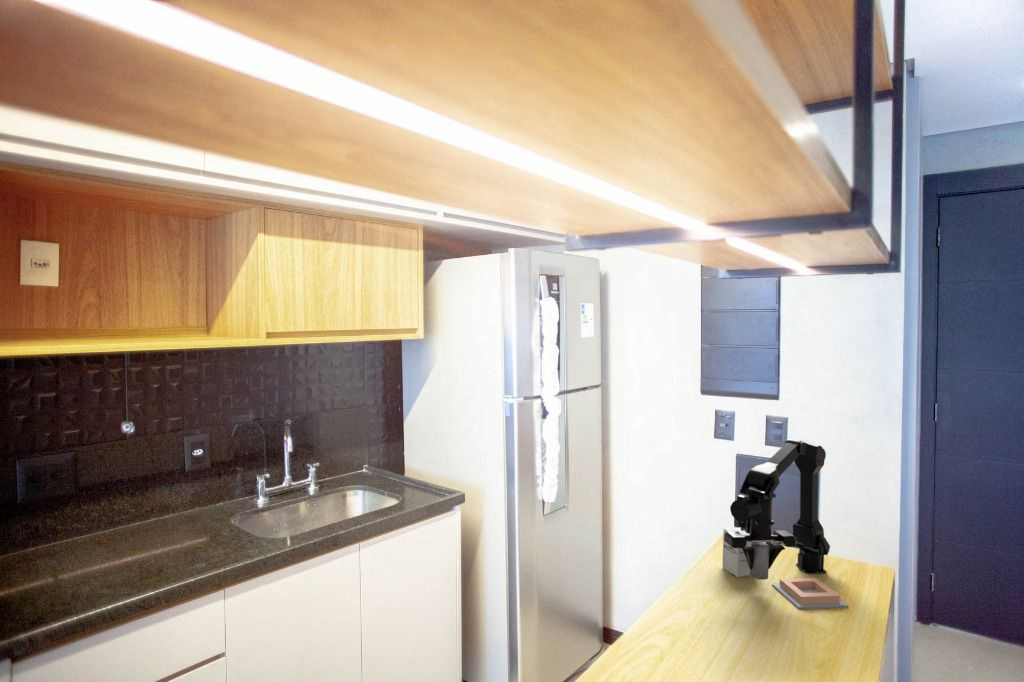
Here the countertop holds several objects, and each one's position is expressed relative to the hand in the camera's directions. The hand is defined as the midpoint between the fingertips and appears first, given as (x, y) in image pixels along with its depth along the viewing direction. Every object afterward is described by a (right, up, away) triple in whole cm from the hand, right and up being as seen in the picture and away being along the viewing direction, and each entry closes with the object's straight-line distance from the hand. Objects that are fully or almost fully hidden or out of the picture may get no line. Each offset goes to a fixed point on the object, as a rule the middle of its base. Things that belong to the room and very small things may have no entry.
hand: (759, 568), depth 170 cm
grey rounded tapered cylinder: (0, -2, 0) cm, 2 cm away
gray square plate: (+13, -7, -2) cm, 15 cm away
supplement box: (0, -7, +14) cm, 16 cm away
